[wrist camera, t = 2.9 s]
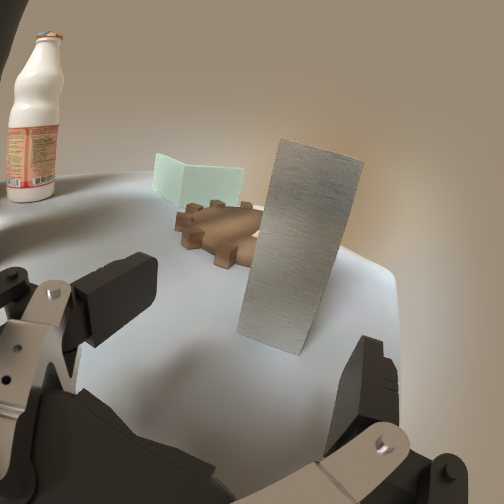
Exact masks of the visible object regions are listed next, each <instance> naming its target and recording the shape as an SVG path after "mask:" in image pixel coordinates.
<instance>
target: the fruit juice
mask: <svg viewBox="0 0 504 504" xmlns="http://www.w3.org/2000/svg"><path fill="white" fill-rule="evenodd" d="M62 40H63V34H62V33H60V32H52V31H50V32H42V33H40V34H38V36H37V38H36V47H35V49H34V51H33V53H32V54H31V56H30V58H29V60H28V62H27V64H26V65H25V67H24V69H23V70H22V72H21V73H20V74H19V76H18V77H17V79H16V82H15V86H14V96H15V102H14V105H13V108H12V110H11V113H10V118H9V124H8V139H7V140H8V141H7V162H6V184H7V196H8V199H9V200H10V201H13V202H20V203H24V202H34V201H39V200H43V199H46V198H48V197H50V196H51V195H52V194H53V193H54V187H55V160H56V145H57V133H58V125H59V113H60V109H59V103H58V100H59V96H60V93H61V91H62V89H63V85H64V75H63V72H62V69H61V63H60V53H59V45H60V44H61V42H62Z"/></svg>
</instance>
